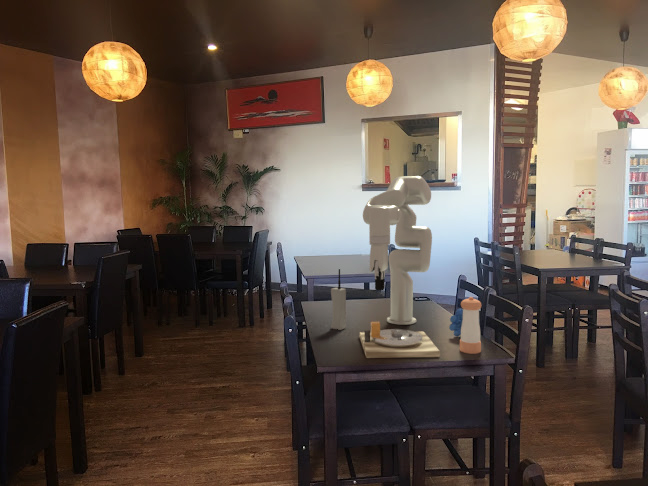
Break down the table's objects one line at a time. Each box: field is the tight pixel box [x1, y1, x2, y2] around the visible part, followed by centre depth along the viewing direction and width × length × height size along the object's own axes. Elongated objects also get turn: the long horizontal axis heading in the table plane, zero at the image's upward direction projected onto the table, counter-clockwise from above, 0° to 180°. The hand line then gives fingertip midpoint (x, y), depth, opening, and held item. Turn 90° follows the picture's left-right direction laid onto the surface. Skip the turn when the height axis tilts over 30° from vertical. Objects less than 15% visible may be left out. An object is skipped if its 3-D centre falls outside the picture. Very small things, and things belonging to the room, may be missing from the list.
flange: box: [370, 321, 422, 347], centre depth 183 cm, size 18×18×6 cm
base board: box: [359, 329, 441, 359], centre depth 184 cm, size 25×25×6 cm
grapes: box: [448, 308, 480, 337], centre depth 196 cm, size 12×7×12 cm, turn 90°
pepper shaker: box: [459, 296, 482, 355], centre depth 178 cm, size 7×7×19 cm
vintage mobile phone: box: [330, 268, 347, 331], centre depth 208 cm, size 4×5×25 cm
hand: (379, 289), depth 187 cm, fingers closed
